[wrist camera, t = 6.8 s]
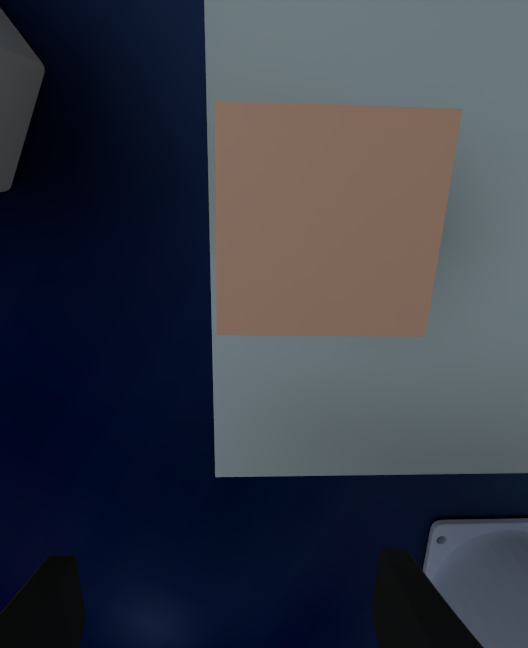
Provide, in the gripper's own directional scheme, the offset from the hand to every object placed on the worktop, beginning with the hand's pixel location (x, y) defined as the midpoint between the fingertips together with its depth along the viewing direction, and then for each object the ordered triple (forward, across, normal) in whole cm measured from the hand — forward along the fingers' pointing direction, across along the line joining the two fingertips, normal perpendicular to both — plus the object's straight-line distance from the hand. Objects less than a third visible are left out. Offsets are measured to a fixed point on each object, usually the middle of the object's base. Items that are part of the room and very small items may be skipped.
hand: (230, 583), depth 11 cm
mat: (+10, -7, -5) cm, 13 cm away
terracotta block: (+6, -2, -8) cm, 10 cm away
